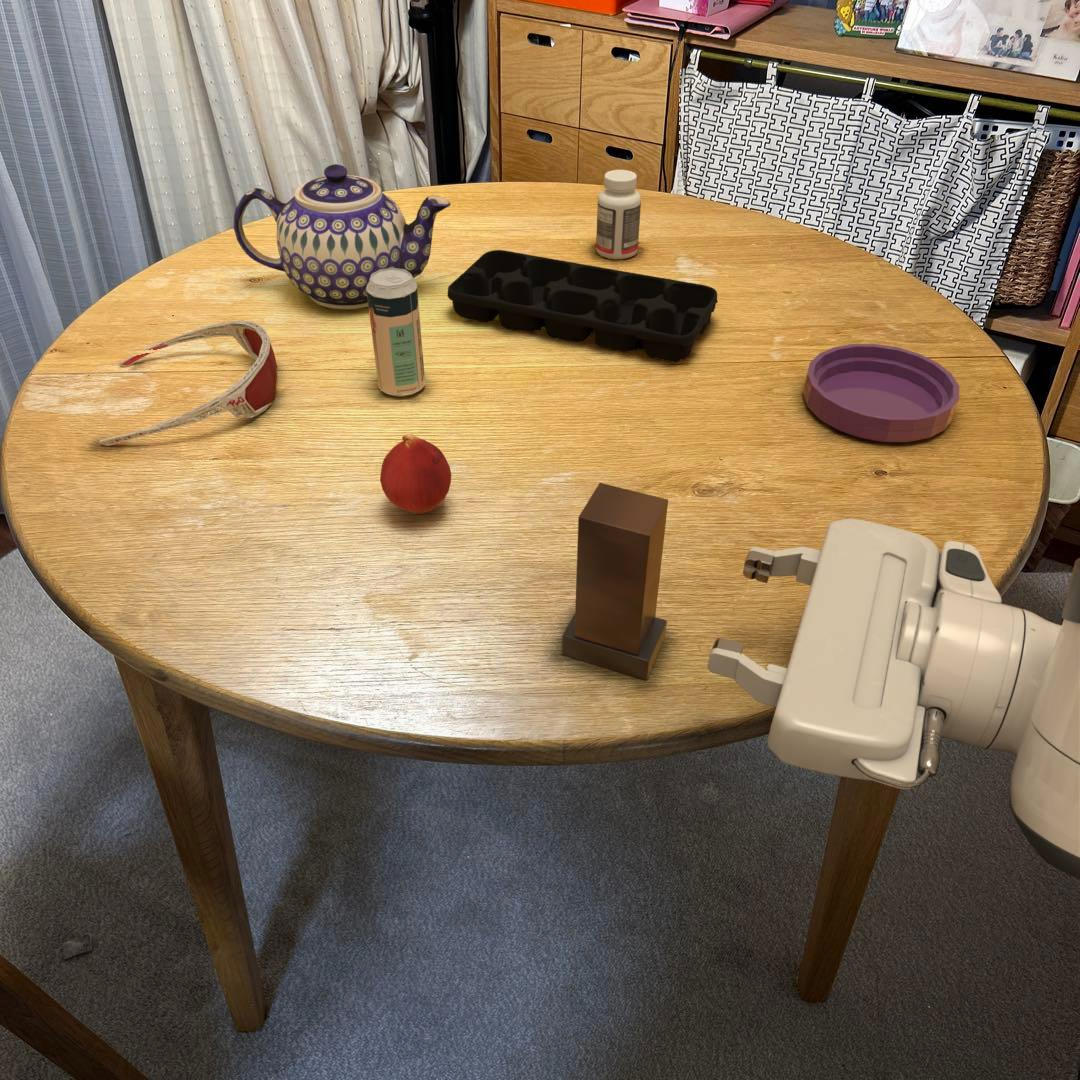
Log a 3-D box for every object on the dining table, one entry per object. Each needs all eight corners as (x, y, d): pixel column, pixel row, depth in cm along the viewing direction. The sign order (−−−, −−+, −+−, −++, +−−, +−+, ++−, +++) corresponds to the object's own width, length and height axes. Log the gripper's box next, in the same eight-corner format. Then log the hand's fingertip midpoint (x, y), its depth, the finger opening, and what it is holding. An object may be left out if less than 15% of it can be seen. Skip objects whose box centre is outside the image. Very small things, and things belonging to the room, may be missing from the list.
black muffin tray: (709, 370, 101) (714, 338, 98) (432, 343, 105) (430, 312, 102) (717, 296, 114) (721, 266, 111) (471, 275, 118) (470, 245, 116)
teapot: (228, 316, 110) (198, 186, 100) (267, 260, 121) (244, 139, 111) (445, 324, 108) (436, 194, 99) (464, 267, 120) (457, 145, 110)
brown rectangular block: (665, 639, 71) (682, 500, 63) (646, 680, 68) (662, 540, 60) (582, 615, 73) (588, 477, 65) (561, 654, 70) (564, 515, 61)
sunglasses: (287, 429, 92) (268, 385, 88) (113, 476, 91) (87, 433, 88) (285, 342, 104) (269, 301, 101) (133, 382, 104) (111, 342, 100)
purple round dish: (951, 382, 99) (959, 356, 97) (949, 458, 89) (959, 431, 87) (811, 359, 102) (816, 334, 100) (794, 430, 92) (799, 404, 90)
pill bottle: (634, 242, 125) (639, 166, 119) (640, 260, 121) (646, 182, 115) (593, 243, 125) (596, 167, 119) (597, 261, 121) (601, 183, 115)
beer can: (400, 370, 101) (389, 261, 93) (435, 384, 98) (426, 274, 91) (368, 390, 98) (354, 279, 90) (403, 405, 95) (392, 292, 88)
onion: (424, 482, 86) (417, 406, 80) (467, 511, 83) (462, 433, 77) (372, 511, 83) (361, 433, 77) (414, 542, 79) (405, 463, 74)
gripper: (920, 830, 54) (681, 753, 58) (948, 597, 68) (756, 549, 72) (951, 761, 50) (692, 683, 54) (975, 529, 64) (769, 481, 68)
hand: (729, 604), depth 63 cm, fingers open, 8 cm apart
